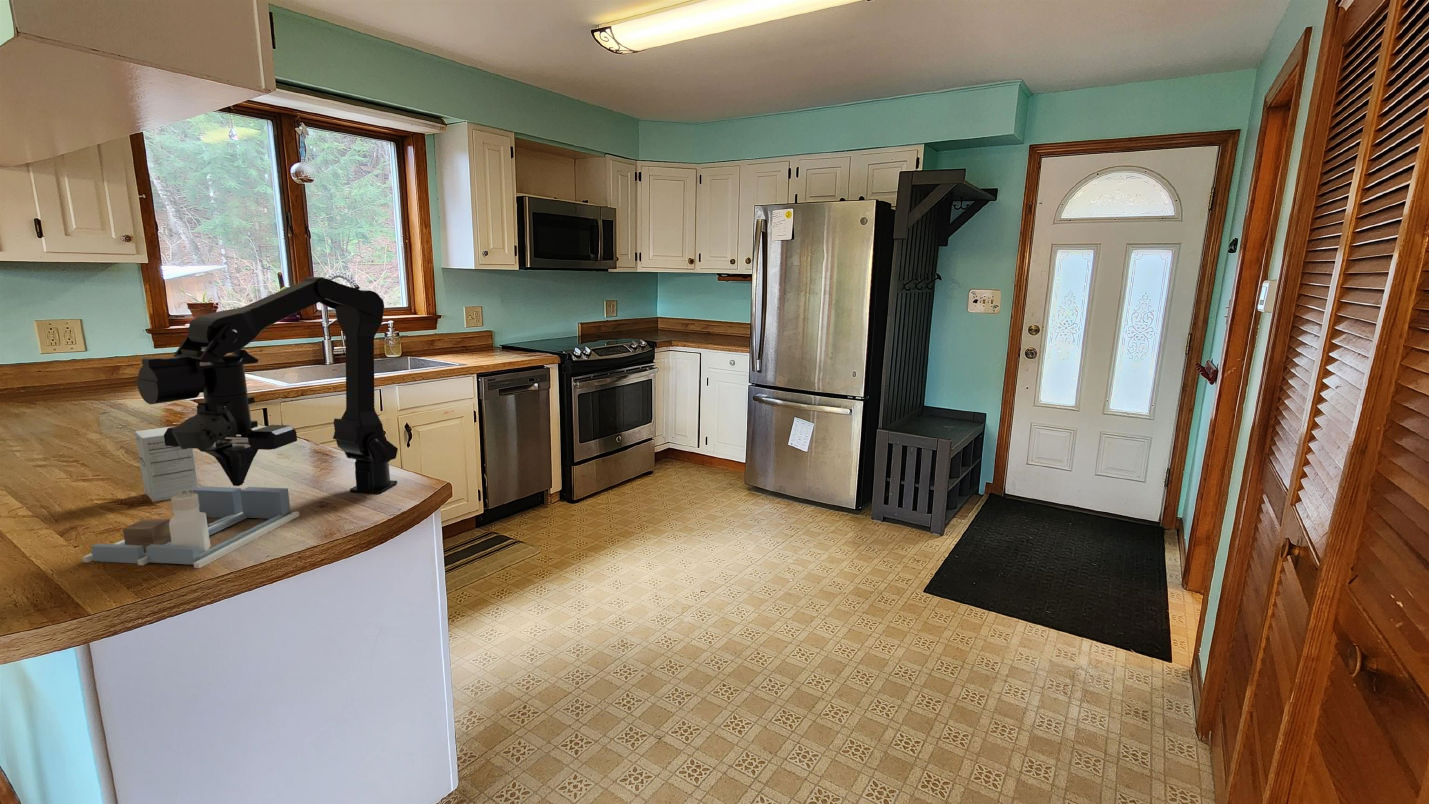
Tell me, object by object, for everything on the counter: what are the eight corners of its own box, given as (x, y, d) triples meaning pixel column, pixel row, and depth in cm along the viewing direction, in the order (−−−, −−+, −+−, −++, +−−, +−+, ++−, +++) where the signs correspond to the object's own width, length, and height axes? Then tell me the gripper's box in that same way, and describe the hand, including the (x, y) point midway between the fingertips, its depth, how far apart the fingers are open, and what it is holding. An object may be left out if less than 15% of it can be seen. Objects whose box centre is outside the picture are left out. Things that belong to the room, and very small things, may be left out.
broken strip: (206, 512, 116) (202, 486, 115) (244, 514, 115) (241, 487, 114) (93, 560, 96) (87, 529, 95) (139, 563, 96) (133, 531, 95)
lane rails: (202, 511, 116) (201, 507, 116) (299, 515, 115) (298, 511, 115) (82, 562, 96) (81, 557, 96) (199, 568, 95) (198, 563, 94)
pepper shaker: (179, 552, 100) (170, 494, 98) (211, 547, 102) (203, 490, 100) (173, 562, 96) (164, 502, 94) (207, 557, 98) (198, 498, 96)
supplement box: (143, 493, 125) (133, 430, 122) (191, 485, 130) (182, 424, 128) (151, 503, 120) (140, 437, 117) (200, 493, 125) (191, 430, 123)
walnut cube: (146, 542, 103) (142, 519, 102) (173, 542, 104) (169, 518, 103) (126, 553, 99) (122, 529, 98) (154, 552, 100) (150, 528, 99)
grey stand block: (252, 513, 115) (248, 486, 114) (290, 515, 115) (287, 488, 114) (148, 562, 96) (143, 530, 95) (194, 564, 95) (189, 532, 94)
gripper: (123, 401, 97) (140, 499, 100) (241, 405, 96) (254, 504, 99) (188, 388, 108) (201, 477, 111) (294, 391, 107) (304, 481, 110)
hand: (238, 485), depth 107 cm, fingers closed
